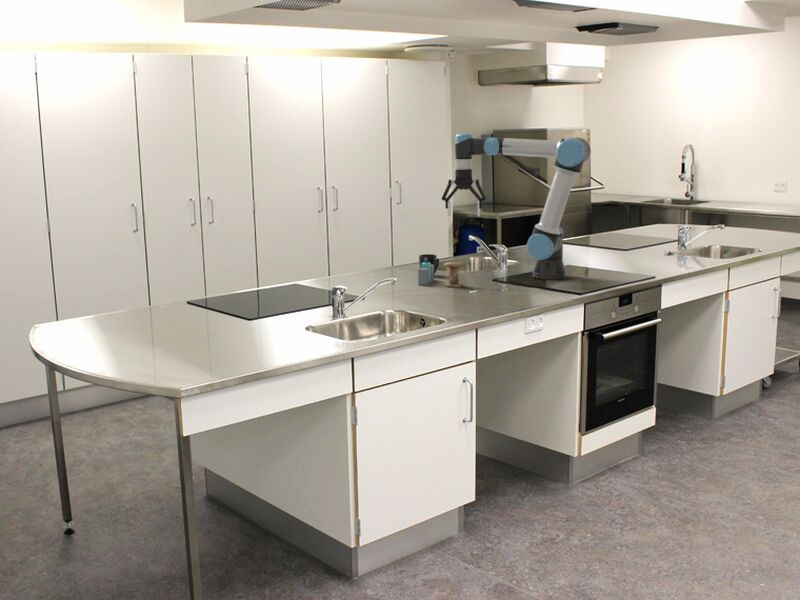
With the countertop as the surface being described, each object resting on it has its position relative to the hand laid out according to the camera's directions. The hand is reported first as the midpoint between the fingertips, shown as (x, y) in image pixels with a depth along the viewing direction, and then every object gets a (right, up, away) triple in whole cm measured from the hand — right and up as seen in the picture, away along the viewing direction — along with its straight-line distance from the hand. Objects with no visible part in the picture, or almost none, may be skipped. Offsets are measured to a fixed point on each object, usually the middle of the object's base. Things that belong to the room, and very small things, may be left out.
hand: (464, 216), depth 398 cm
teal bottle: (-17, -29, -3) cm, 34 cm away
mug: (-15, -27, +14) cm, 34 cm away
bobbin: (-5, -32, -13) cm, 35 cm away
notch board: (-17, -30, -3) cm, 35 cm away
